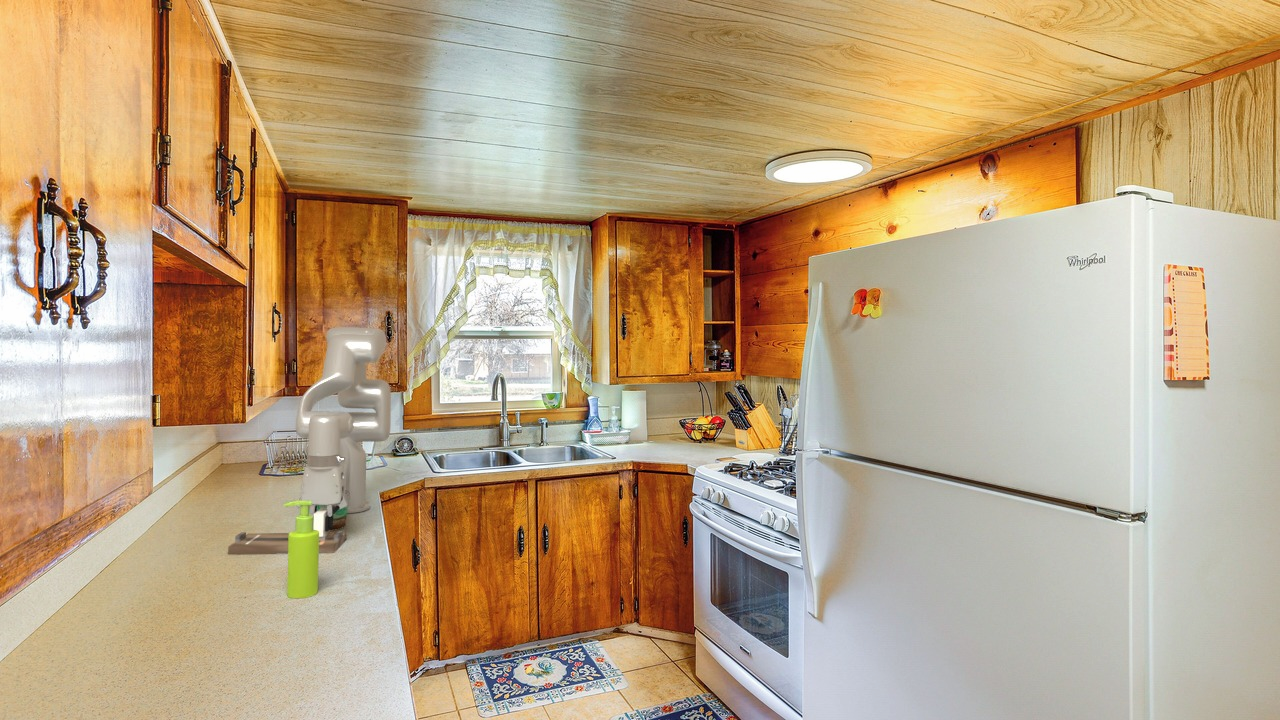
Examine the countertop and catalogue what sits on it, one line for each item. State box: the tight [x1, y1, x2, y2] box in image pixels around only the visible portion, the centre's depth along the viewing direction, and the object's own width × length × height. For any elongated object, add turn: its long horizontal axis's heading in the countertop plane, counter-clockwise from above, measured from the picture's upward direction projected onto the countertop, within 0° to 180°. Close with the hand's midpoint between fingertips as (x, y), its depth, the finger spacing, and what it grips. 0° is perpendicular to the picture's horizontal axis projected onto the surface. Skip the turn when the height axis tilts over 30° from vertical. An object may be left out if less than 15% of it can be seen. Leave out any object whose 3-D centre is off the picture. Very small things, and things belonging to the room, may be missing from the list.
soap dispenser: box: [283, 499, 320, 599], centre depth 143 cm, size 6×7×20 cm
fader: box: [313, 508, 331, 541], centre depth 176 cm, size 6×3×7 cm, turn 10°
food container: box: [317, 490, 351, 531], centre depth 195 cm, size 12×6×10 cm, turn 168°
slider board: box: [227, 530, 347, 555], centre depth 175 cm, size 12×25×4 cm, turn 100°
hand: (321, 529), depth 176 cm, fingers closed on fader, 2 cm apart
